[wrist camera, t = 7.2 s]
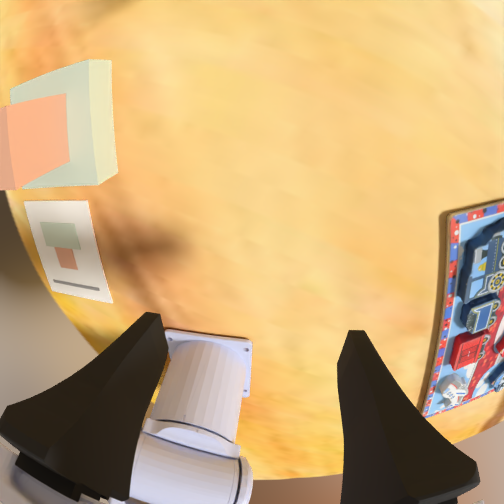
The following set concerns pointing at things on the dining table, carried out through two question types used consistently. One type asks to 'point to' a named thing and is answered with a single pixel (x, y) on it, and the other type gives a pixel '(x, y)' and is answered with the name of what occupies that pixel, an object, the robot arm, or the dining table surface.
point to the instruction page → (68, 247)
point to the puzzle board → (470, 311)
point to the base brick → (79, 121)
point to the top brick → (32, 140)
